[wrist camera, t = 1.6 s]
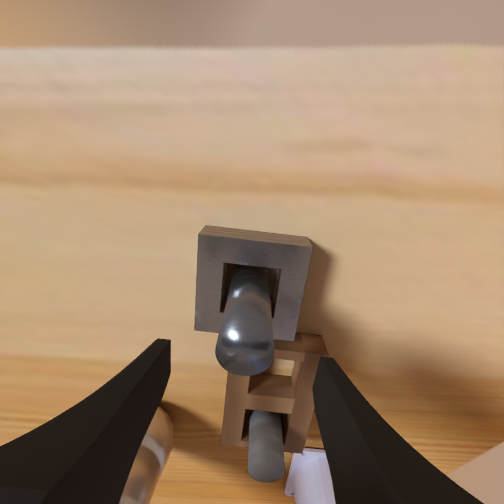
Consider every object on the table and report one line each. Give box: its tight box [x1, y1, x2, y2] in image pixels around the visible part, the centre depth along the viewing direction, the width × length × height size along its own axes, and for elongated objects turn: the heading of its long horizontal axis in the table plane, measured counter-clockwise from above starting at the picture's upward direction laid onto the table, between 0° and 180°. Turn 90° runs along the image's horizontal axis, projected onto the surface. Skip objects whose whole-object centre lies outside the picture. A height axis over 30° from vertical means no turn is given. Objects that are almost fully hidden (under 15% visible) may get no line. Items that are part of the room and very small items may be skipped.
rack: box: [221, 333, 328, 482], centre depth 23 cm, size 8×12×6 cm, turn 173°
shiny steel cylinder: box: [215, 264, 274, 376], centre depth 17 cm, size 3×3×9 cm
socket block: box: [194, 225, 313, 341], centre depth 20 cm, size 8×8×2 cm
